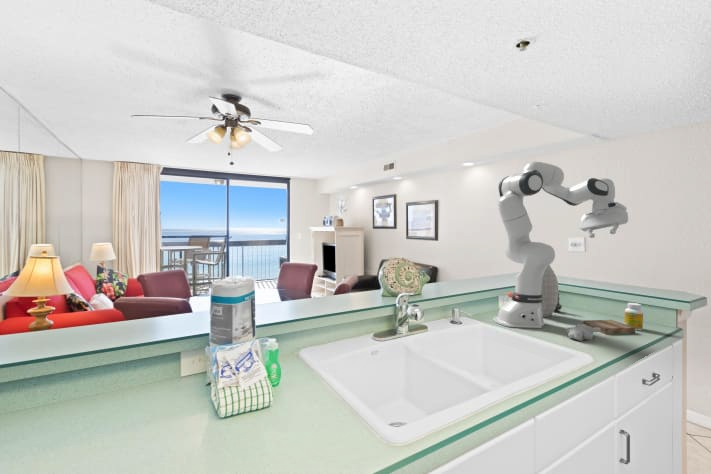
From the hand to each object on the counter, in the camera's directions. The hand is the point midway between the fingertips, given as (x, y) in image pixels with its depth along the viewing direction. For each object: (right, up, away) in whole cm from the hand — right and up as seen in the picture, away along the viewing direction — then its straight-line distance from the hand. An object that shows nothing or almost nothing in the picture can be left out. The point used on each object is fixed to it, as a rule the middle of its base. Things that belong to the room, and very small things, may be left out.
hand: (602, 235), depth 156 cm
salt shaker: (-9, -42, +21) cm, 48 cm away
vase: (-20, -42, +13) cm, 48 cm away
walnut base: (-4, -42, -10) cm, 44 cm away
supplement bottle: (+8, -43, -8) cm, 44 cm away
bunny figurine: (-24, -43, -20) cm, 53 cm away
